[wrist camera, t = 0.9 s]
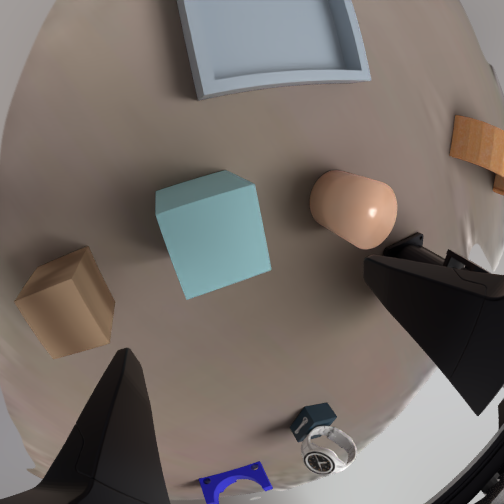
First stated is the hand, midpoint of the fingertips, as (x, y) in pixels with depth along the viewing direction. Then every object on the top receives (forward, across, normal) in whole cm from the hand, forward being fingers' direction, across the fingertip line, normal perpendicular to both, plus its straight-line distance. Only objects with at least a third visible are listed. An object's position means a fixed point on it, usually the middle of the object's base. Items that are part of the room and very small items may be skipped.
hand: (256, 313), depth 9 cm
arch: (+12, -40, +2) cm, 42 cm away
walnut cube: (+12, +11, +2) cm, 16 cm away
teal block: (+12, 0, 0) cm, 12 cm away
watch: (+12, -6, +34) cm, 36 cm away
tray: (+12, -8, -14) cm, 20 cm away
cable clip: (+12, +10, +47) cm, 50 cm away
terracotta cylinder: (+12, -11, +2) cm, 16 cm away
